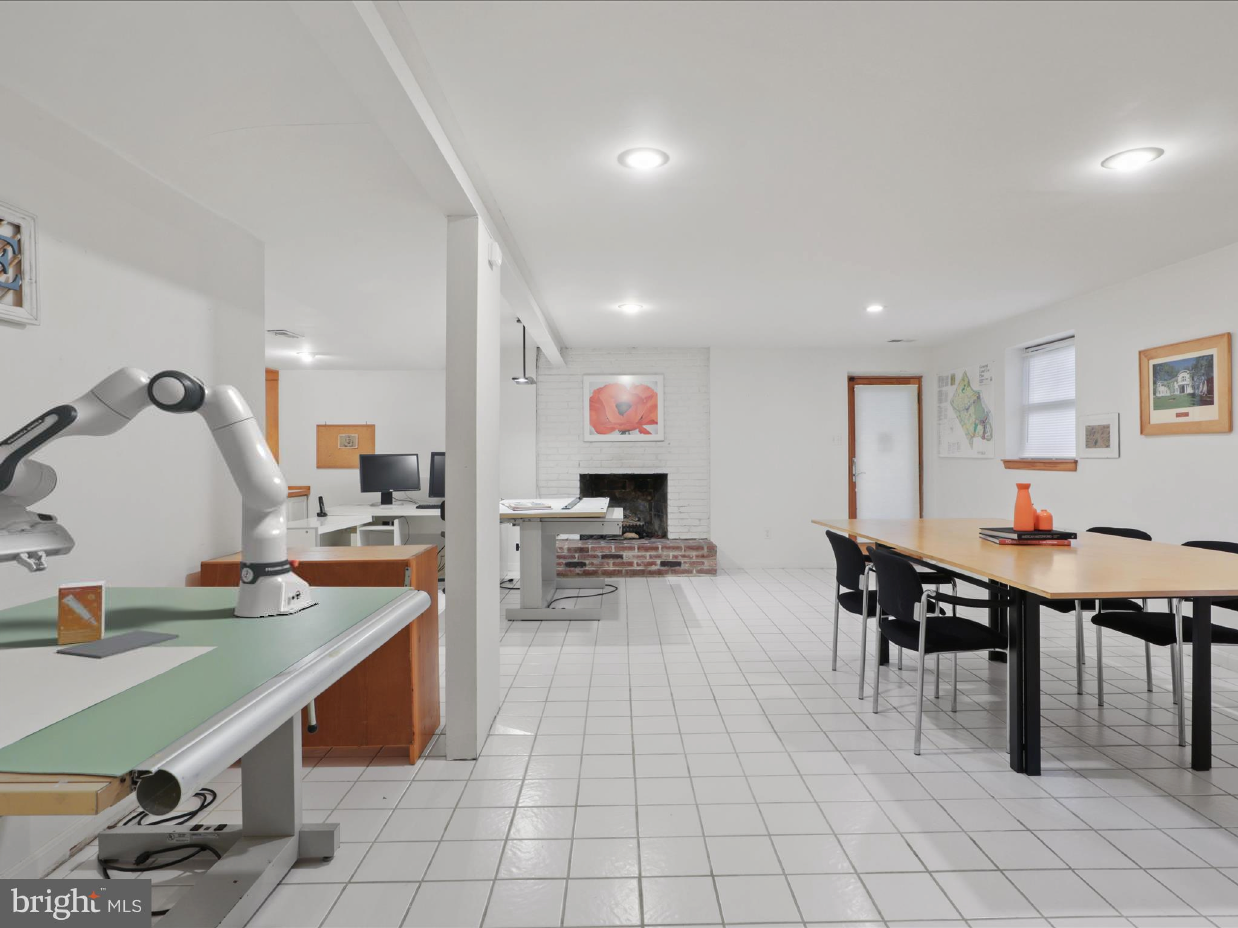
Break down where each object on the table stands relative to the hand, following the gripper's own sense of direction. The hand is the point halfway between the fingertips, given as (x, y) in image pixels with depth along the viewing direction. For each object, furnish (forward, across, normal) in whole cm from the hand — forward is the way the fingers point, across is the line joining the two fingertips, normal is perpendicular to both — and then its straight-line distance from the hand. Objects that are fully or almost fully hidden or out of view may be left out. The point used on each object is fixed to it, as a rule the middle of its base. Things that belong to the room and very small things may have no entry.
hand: (39, 569), depth 160 cm
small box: (+21, 0, +1) cm, 21 cm away
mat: (+29, 0, -8) cm, 30 cm away
